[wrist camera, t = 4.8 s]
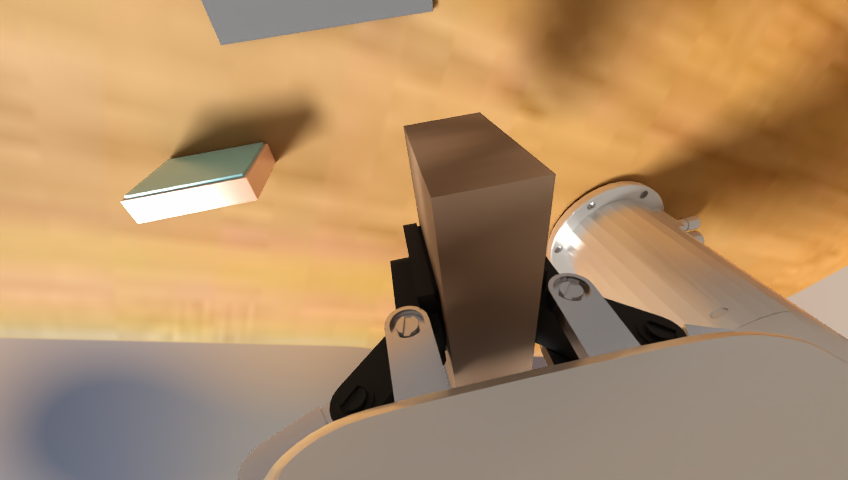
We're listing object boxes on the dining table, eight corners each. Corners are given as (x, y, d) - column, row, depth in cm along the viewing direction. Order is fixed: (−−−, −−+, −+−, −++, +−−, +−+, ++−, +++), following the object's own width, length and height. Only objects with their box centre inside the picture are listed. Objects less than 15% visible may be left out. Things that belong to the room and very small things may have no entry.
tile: (266, 140, 23) (244, 174, 18) (275, 162, 24) (257, 199, 19) (166, 158, 23) (118, 198, 18) (180, 180, 24) (138, 223, 19)
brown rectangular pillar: (479, 112, 10) (555, 174, 6) (484, 316, 16) (525, 416, 12) (403, 126, 10) (430, 198, 6) (436, 327, 16) (461, 432, 12)
